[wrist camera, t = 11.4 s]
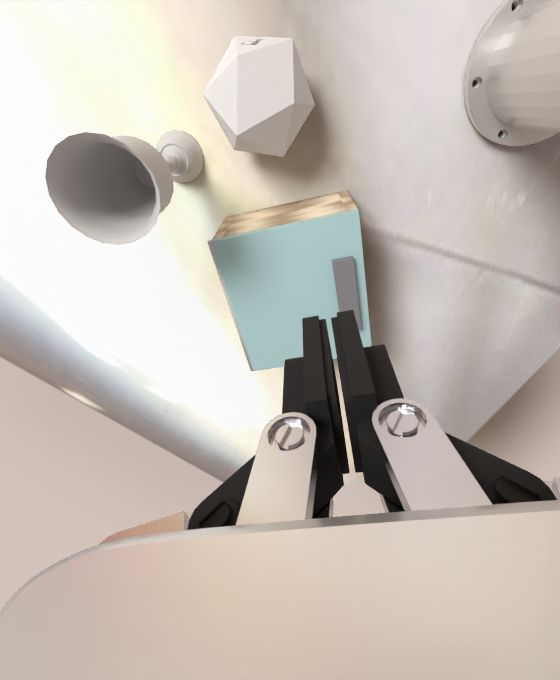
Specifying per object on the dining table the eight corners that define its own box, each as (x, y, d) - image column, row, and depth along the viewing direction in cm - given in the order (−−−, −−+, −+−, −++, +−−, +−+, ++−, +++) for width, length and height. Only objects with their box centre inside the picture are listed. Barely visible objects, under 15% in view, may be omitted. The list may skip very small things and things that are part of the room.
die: (329, 91, 35) (307, -6, 25) (304, 181, 35) (272, 120, 26) (251, 85, 37) (204, -6, 28) (229, 169, 38) (175, 109, 28)
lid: (357, 208, 32) (360, 213, 31) (371, 349, 41) (373, 357, 39) (208, 240, 34) (204, 245, 33) (251, 367, 43) (249, 375, 42)
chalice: (208, 118, 36) (145, 129, 21) (218, 190, 40) (170, 243, 25) (138, 121, 36) (26, 135, 21) (154, 192, 40) (68, 246, 25)
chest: (346, 190, 39) (357, 208, 32) (360, 314, 48) (370, 348, 41) (226, 217, 41) (212, 239, 34) (259, 331, 50) (254, 366, 43)
